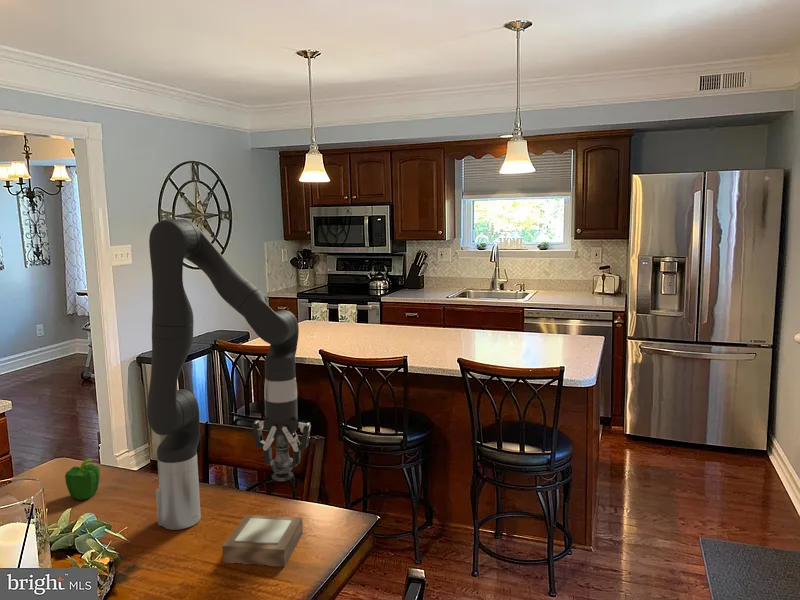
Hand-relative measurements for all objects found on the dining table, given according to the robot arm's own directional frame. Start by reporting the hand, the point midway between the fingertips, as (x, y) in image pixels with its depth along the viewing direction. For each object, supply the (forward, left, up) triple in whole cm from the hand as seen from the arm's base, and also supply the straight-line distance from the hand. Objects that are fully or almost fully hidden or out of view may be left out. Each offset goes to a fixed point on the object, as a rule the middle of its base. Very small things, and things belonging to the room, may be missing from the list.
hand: (282, 464), depth 145 cm
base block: (-3, -7, -17) cm, 19 cm away
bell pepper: (-61, +12, -17) cm, 64 cm away
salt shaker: (0, 0, -3) cm, 3 cm away
